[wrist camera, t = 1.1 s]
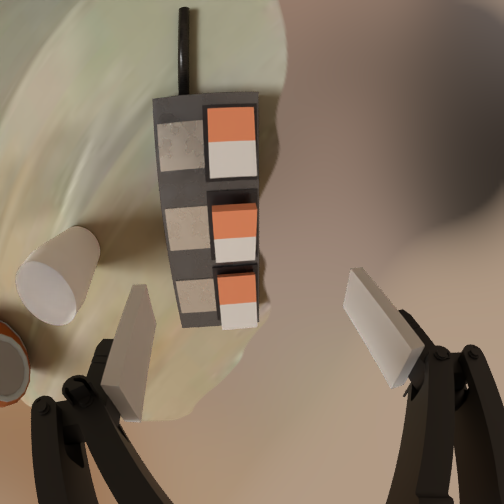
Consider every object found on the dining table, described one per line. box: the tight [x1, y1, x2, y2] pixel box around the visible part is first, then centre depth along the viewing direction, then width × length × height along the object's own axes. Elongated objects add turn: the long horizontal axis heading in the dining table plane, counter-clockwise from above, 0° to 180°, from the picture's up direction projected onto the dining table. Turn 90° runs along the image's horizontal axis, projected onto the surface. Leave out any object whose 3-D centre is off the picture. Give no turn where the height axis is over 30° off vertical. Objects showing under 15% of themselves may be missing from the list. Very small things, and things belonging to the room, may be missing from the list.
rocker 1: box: [207, 107, 257, 179], centre depth 26 cm, size 7×4×1 cm, turn 1°
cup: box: [16, 226, 100, 326], centre depth 30 cm, size 9×9×12 cm
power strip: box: [153, 7, 259, 328], centre depth 31 cm, size 42×11×5 cm, turn 1°
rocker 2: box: [212, 203, 257, 263], centre depth 31 cm, size 7×4×1 cm, turn 0°
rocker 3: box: [217, 272, 257, 330], centre depth 35 cm, size 7×4×1 cm, turn 1°
